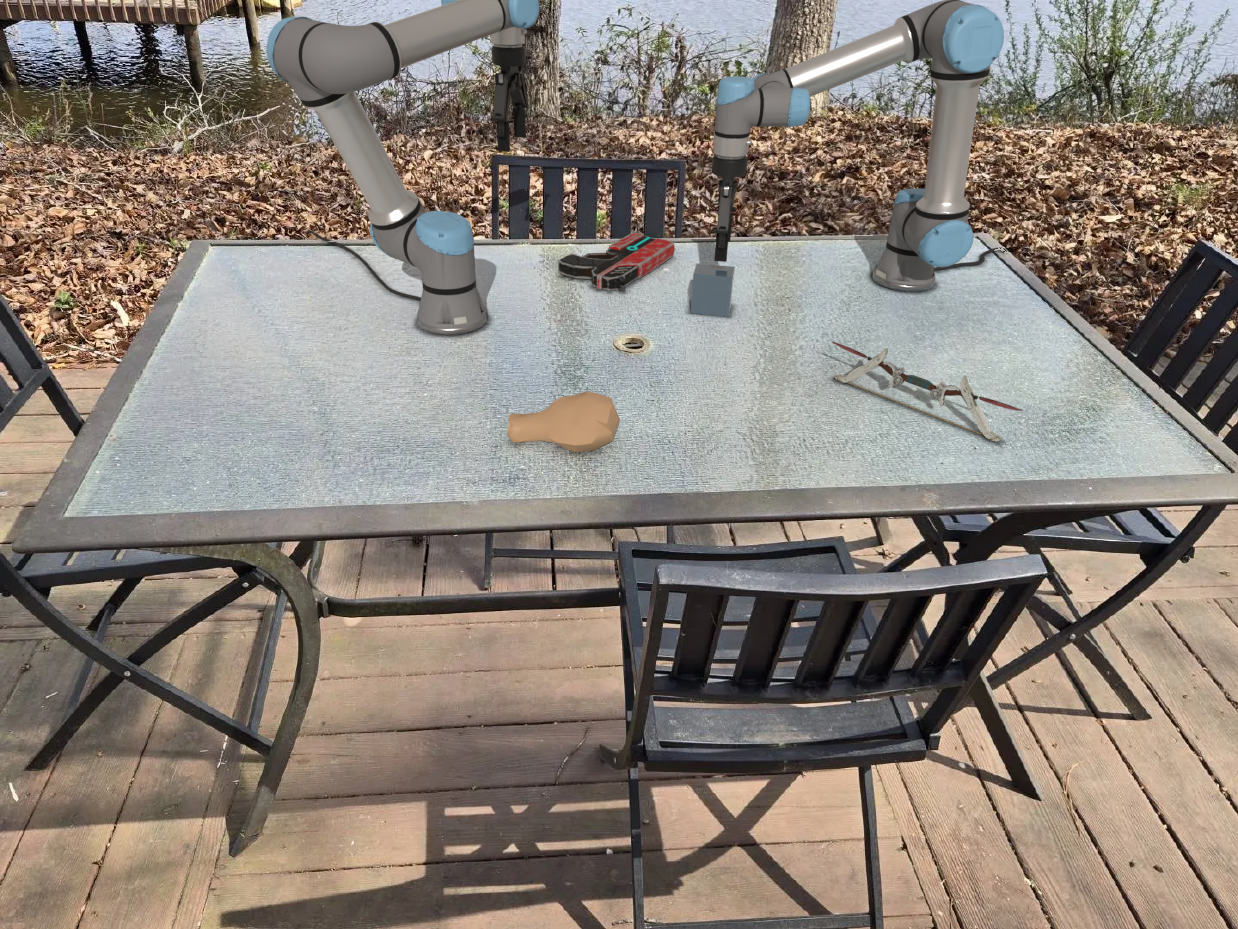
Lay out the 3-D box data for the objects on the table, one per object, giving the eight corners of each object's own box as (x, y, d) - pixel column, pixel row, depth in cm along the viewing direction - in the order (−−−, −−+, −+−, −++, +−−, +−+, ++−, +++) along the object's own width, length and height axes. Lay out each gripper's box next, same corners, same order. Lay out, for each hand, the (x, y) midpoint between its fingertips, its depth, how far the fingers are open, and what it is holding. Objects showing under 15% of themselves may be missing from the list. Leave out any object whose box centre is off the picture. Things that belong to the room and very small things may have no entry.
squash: (622, 459, 152) (616, 419, 146) (509, 467, 154) (498, 429, 148) (622, 418, 160) (617, 379, 154) (514, 426, 162) (505, 388, 155)
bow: (1013, 444, 159) (1029, 396, 153) (1009, 448, 158) (1025, 400, 152) (828, 373, 180) (836, 328, 175) (824, 376, 179) (831, 331, 174)
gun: (551, 260, 217) (618, 279, 209) (616, 225, 239) (679, 240, 231) (552, 278, 220) (618, 297, 212) (615, 241, 242) (677, 256, 234)
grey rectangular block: (728, 316, 203) (732, 277, 198) (690, 313, 204) (693, 273, 199) (730, 305, 208) (734, 266, 203) (693, 302, 210) (696, 263, 204)
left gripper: (508, 54, 184) (513, 158, 196) (538, 37, 205) (540, 132, 216) (474, 52, 185) (480, 156, 197) (507, 36, 206) (511, 130, 217)
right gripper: (745, 171, 178) (735, 271, 190) (750, 141, 199) (741, 233, 211) (708, 169, 179) (701, 268, 191) (717, 140, 200) (710, 231, 212)
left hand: (512, 143), depth 207 cm, fingers open, 13 cm apart
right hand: (722, 250), depth 201 cm, fingers open, 13 cm apart
